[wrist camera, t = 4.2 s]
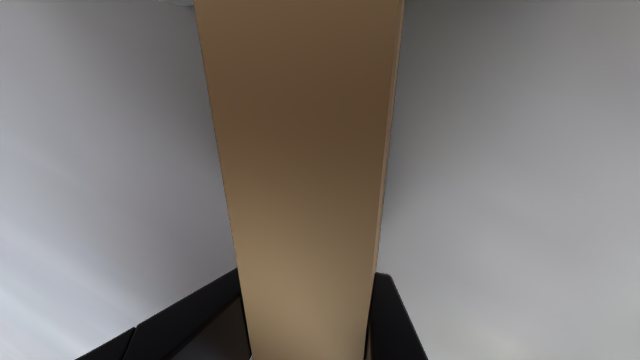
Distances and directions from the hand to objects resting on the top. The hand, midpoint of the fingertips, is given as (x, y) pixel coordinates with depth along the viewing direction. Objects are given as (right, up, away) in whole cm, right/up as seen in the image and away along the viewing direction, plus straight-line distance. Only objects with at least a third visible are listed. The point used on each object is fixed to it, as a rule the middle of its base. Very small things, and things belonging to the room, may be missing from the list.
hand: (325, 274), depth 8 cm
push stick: (0, +5, -1) cm, 5 cm away
